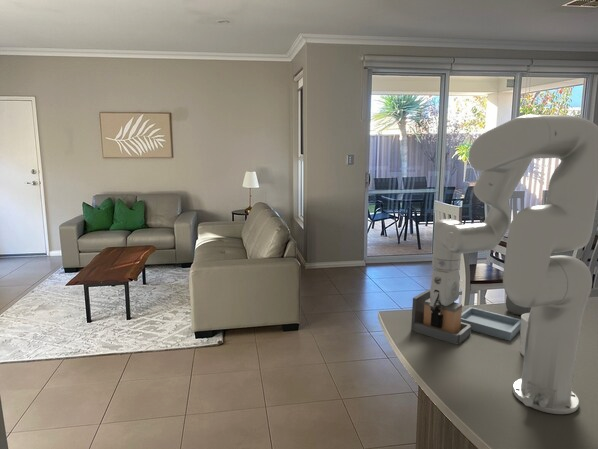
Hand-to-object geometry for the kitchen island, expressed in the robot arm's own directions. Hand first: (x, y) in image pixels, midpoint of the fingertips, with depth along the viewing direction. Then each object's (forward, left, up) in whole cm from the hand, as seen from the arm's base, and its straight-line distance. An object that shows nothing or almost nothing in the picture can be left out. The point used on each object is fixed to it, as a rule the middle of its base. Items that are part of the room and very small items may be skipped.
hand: (441, 322), depth 128 cm
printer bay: (0, 0, -3) cm, 3 cm away
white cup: (+3, -24, -3) cm, 24 cm away
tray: (+13, -9, -3) cm, 16 cm away
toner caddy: (0, 0, -3) cm, 3 cm away
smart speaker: (+31, -13, -3) cm, 34 cm away
